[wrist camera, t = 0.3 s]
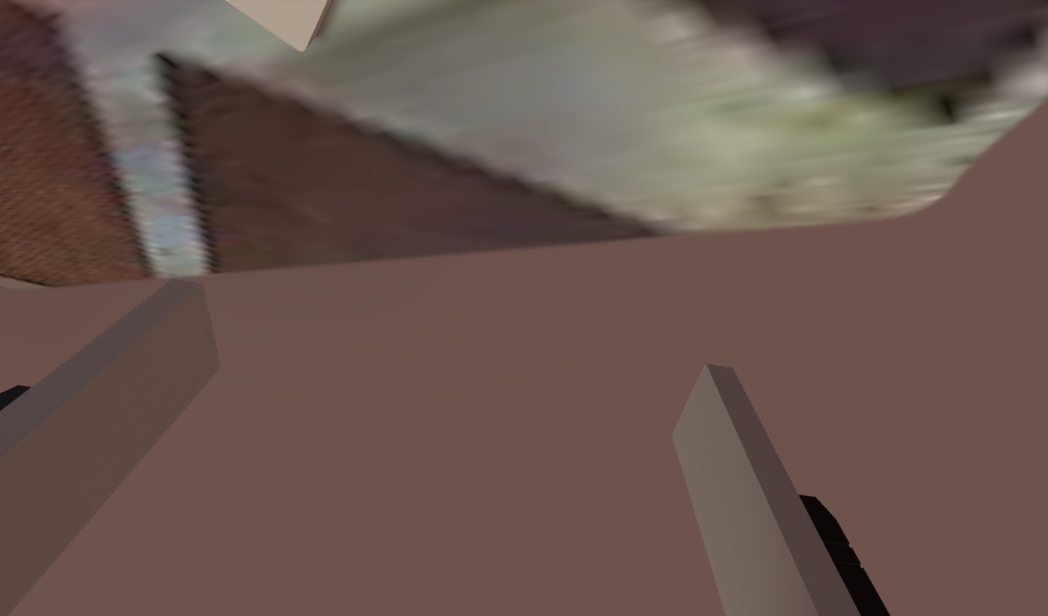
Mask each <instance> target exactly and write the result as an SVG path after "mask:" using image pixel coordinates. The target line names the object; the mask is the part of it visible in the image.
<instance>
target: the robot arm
mask: <svg viewBox="0 0 1048 616" xmlns="http://www.w3.org/2000/svg"><path fill="white" fill-rule="evenodd" d="M219 369H220V362H219V357H218V352H217V348H216V342H215V337H214V332H213V327H212V322H211V317H210V312H209V308H208V303H207V297H206V292H205V288H204V284H203V283H197V282H191V281H184V280H178V279H171V280H170V281H168V282H167V283H166V284H164V286H162V287H161V288H159V289H158V290H157V291H155V292H154V293H153V294H151V295H150V296H149V297H148V298H146V299H145V300H144V301H142V302H141V303H140V304H139V305H137V306H136V307H135V308H133V309H132V310H131V311H129V312H128V313H127V314H126V315H124V316H123V317H122V318H120V319H119V320H118V321H117V322H115V323H114V324H113V325H111V326H110V327H109V328H107V329H106V330H105V331H104V332H102V333H101V334H100V335H98V336H97V337H96V338H95V339H93V340H92V341H91V342H90V343H88V344H87V345H85V346H84V347H83V348H82V349H80V350H79V351H78V352H76V353H75V354H74V355H73V356H71V357H70V358H69V359H67V360H66V361H65V362H64V363H62V364H61V365H60V366H58V367H57V368H56V369H54V370H53V371H52V372H50V373H49V374H48V375H47V376H46V377H44V378H43V379H41V380H40V381H39V382H38V383H36V384H35V385H34V386H32V387H27V386H20V385H17V386H15V387H13V388H11V389H9V390H7V391H4V392H2V393H0V616H8V615H9V614H10V613H11V612H12V611H13V609H14V608H15V607H16V606H17V605H18V604H19V602H20V601H21V600H22V599H23V598H24V597H25V595H26V594H27V593H28V592H29V591H30V590H31V588H32V587H33V586H34V585H35V584H36V583H37V581H38V580H39V579H40V578H41V577H42V576H43V574H44V573H45V572H46V571H47V569H49V567H50V566H51V565H52V564H53V563H54V562H55V560H56V559H57V558H58V557H59V556H60V555H61V553H62V552H63V551H64V550H65V549H66V548H67V546H68V545H69V544H70V543H71V542H72V541H73V539H74V538H75V537H76V536H77V535H78V534H79V532H80V531H81V530H82V529H83V528H84V527H85V525H86V524H87V523H88V522H89V520H91V518H92V517H93V516H94V515H95V514H96V513H97V511H98V510H99V509H100V508H101V507H102V505H103V504H104V503H105V502H106V501H107V500H108V499H109V497H110V496H111V495H112V494H113V493H114V492H115V490H116V489H117V488H118V487H119V486H120V485H121V483H122V482H123V481H124V480H125V479H126V478H127V476H128V475H129V474H130V473H131V472H132V471H133V469H134V468H135V467H136V466H137V465H138V463H139V462H140V461H141V460H142V459H143V458H144V457H145V455H146V454H147V453H148V452H149V451H150V449H151V448H152V447H153V446H154V445H155V444H156V443H157V441H158V440H159V439H160V438H161V437H162V436H163V434H164V433H165V432H166V431H167V430H168V428H169V427H170V426H171V425H172V424H173V423H174V422H175V420H176V419H177V418H178V417H179V416H180V414H181V413H182V412H183V411H184V410H185V409H186V407H187V406H188V405H189V404H190V403H191V402H192V401H193V399H194V398H195V397H196V396H197V395H198V394H199V392H200V391H201V390H202V389H203V388H204V386H205V385H206V384H207V383H208V382H209V381H210V380H211V378H212V377H213V376H214V375H215V374H216V372H217V371H218V370H219ZM672 437H673V440H674V443H675V447H676V450H677V453H678V457H679V460H680V463H681V466H682V470H683V473H684V476H685V480H686V484H687V487H688V490H689V494H690V497H691V500H692V503H693V507H694V510H695V513H696V517H697V520H698V524H699V527H700V530H701V534H702V537H703V541H704V544H705V547H706V551H707V554H708V557H709V561H710V563H711V567H712V571H713V574H714V577H715V581H716V584H717V587H718V591H719V594H720V598H721V601H722V604H723V607H724V611H725V614H726V616H890V614H889V613H888V611H887V609H886V607H885V605H884V604H883V602H882V600H881V598H880V597H879V595H878V593H877V591H876V590H875V588H874V586H873V584H872V582H871V581H870V579H869V577H868V575H867V574H866V572H865V570H864V568H861V567H860V561H859V559H858V557H857V556H856V554H855V552H854V550H853V549H852V548H850V547H849V541H848V540H847V538H846V536H845V534H844V533H843V531H842V529H841V527H840V525H839V524H838V522H837V520H836V519H835V518H834V517H833V516H832V514H831V513H830V512H829V511H828V510H827V509H826V508H825V507H824V506H823V505H822V504H821V502H820V501H819V500H818V499H817V498H816V497H812V496H805V495H798V493H797V491H796V489H795V487H794V485H793V483H792V481H791V479H790V477H789V476H788V474H787V472H786V470H785V468H784V466H783V464H782V462H781V460H780V458H779V456H778V454H777V452H776V450H775V448H774V446H773V445H772V443H771V441H770V439H769V437H768V435H767V433H766V431H765V429H764V427H763V425H762V423H761V421H760V419H759V417H758V415H757V413H756V412H755V409H754V408H753V406H752V404H751V402H750V400H749V398H748V396H747V394H746V392H745V390H744V388H743V386H742V384H741V383H740V380H739V379H738V377H737V375H736V373H735V371H734V369H733V368H730V367H724V366H718V365H712V364H705V366H704V368H703V370H702V373H701V375H700V377H699V379H698V381H697V383H696V385H695V387H694V389H693V392H692V393H691V396H690V398H689V400H688V402H687V404H686V406H685V408H684V410H683V412H682V414H681V417H680V419H679V421H678V423H677V425H676V427H675V429H674V431H673V433H672Z"/></svg>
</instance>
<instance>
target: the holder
mask: <svg viewBox="0 0 1048 616" xmlns="http://www.w3.org/2000/svg"><path fill="white" fill-rule="evenodd" d="M226 1H227V2H229V3H230V4H232V5H233V6H234V7H236V8H237V9H239V10H240V11H242V12H243V13H245V14H246V15H247V16H249V17H250V18H252V19H253V20H255V21H256V22H258V23H259V24H261V25H262V26H263V27H265V28H266V29H268V30H269V31H271V32H272V33H274V34H275V35H276V36H278V37H279V38H281V39H282V40H284V41H285V42H287V43H288V44H289V45H291V46H292V47H294V48H295V49H297V50H298V51H305V50H306V48H307V47H308V46H309V45H310V43H311V42H312V41H313V40H314V38H315V37H316V36H317V34H318V32H319V29H320V27H321V25H322V23H323V20H324V18H325V16H326V14H327V12H328V9H329V7H330V5H331V3H332V1H333V0H226Z"/></svg>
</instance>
